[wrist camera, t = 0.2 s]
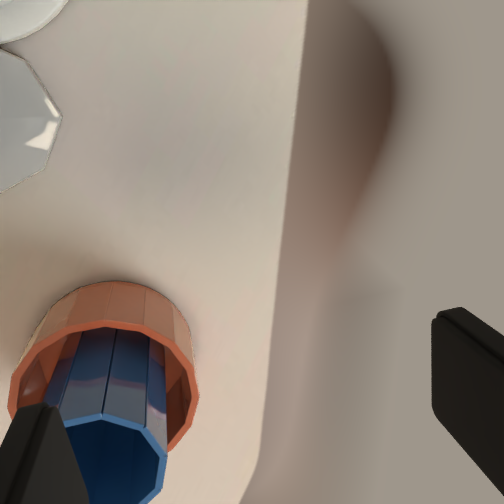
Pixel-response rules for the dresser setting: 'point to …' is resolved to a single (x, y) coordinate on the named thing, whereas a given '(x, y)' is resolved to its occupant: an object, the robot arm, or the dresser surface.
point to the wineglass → (24, 122)
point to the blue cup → (114, 412)
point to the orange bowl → (121, 317)
